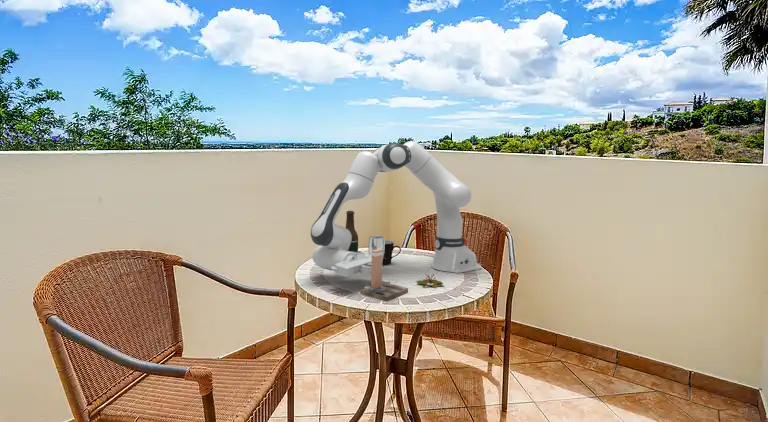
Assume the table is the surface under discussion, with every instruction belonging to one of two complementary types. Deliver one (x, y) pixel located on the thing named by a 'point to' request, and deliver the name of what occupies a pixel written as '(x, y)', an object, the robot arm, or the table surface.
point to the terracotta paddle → (376, 268)
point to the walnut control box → (391, 292)
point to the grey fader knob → (385, 282)
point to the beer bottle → (352, 231)
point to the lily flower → (430, 282)
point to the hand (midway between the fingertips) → (374, 269)
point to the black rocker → (380, 290)
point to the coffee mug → (389, 252)
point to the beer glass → (376, 244)
